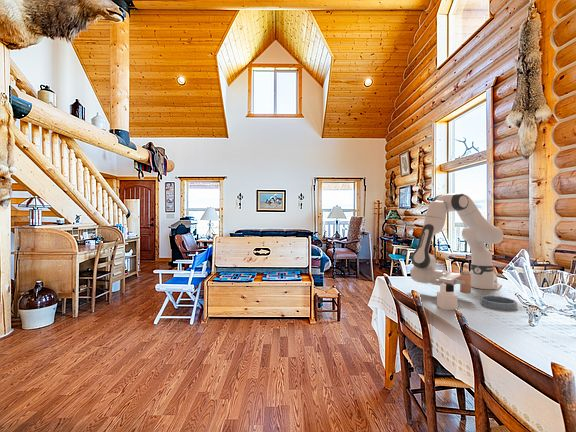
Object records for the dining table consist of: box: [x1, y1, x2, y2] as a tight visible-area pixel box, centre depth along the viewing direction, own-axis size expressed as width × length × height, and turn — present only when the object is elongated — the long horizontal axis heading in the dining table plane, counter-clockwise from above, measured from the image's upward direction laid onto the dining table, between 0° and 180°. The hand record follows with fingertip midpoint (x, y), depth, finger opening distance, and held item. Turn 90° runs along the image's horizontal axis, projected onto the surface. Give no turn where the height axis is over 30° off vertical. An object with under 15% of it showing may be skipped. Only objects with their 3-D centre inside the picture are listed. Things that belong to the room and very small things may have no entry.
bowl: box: [479, 295, 518, 311], centre depth 154 cm, size 15×15×3 cm
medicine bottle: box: [436, 283, 459, 311], centre depth 151 cm, size 7×7×12 cm
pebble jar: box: [459, 270, 472, 294], centre depth 165 cm, size 5×5×12 cm
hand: (467, 281), depth 164 cm, fingers closed on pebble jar, 5 cm apart
